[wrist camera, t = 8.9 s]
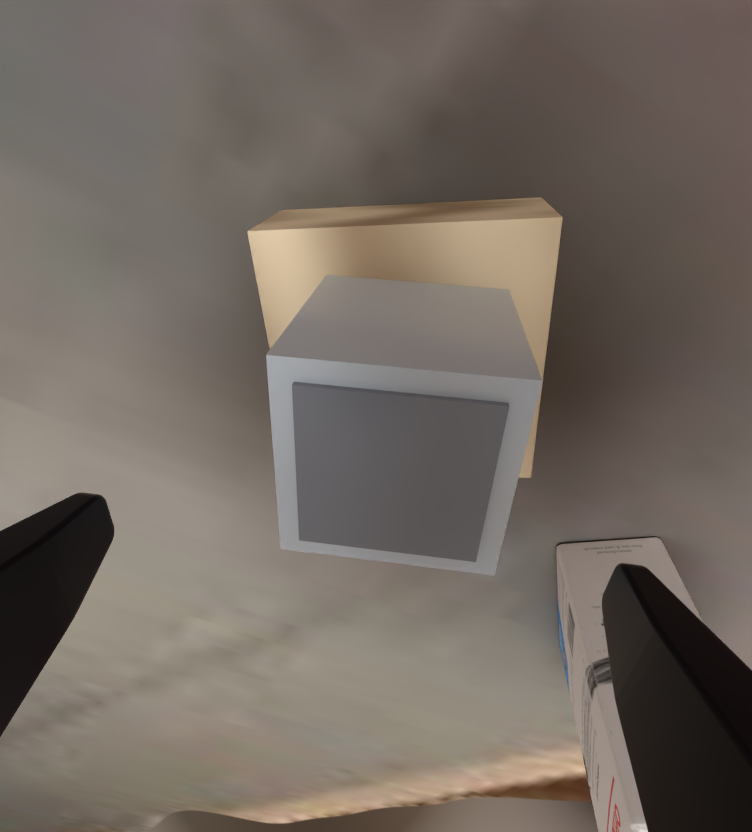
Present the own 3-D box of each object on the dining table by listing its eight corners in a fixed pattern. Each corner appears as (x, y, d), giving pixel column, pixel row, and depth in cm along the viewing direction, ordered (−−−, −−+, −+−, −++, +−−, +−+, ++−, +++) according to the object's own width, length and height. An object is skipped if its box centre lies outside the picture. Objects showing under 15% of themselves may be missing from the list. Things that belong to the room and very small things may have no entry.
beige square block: (539, 195, 17) (562, 217, 14) (517, 420, 22) (530, 478, 18) (284, 208, 18) (247, 230, 15) (315, 418, 23) (292, 472, 19)
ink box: (652, 646, 28) (820, 1087, 15) (557, 647, 29) (642, 1061, 16) (665, 532, 23) (912, 1015, 11) (553, 539, 24) (663, 986, 12)
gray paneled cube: (508, 289, 15) (543, 384, 10) (480, 442, 18) (495, 580, 12) (326, 274, 15) (263, 357, 10) (327, 426, 18) (279, 553, 13)
